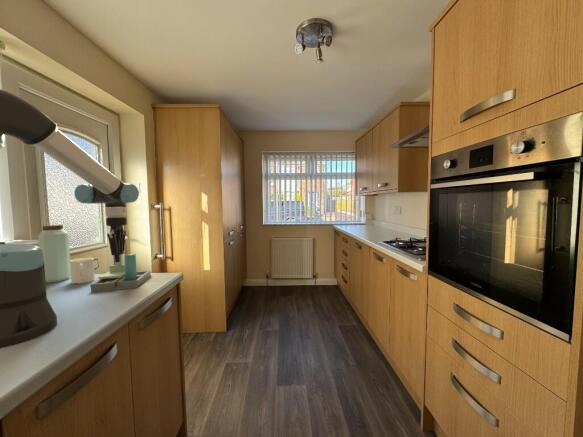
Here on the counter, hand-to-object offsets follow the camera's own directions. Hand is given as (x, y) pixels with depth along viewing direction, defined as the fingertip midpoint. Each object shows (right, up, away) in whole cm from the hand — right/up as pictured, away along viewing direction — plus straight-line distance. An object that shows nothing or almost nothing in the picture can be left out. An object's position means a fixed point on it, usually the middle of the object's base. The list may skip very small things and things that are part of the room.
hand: (119, 268), depth 114 cm
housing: (+6, -5, -5) cm, 9 cm away
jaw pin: (+10, -5, -7) cm, 13 cm away
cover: (+1, -2, -5) cm, 5 cm away
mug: (-14, -6, -2) cm, 16 cm away
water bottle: (-30, -6, +2) cm, 30 cm away
